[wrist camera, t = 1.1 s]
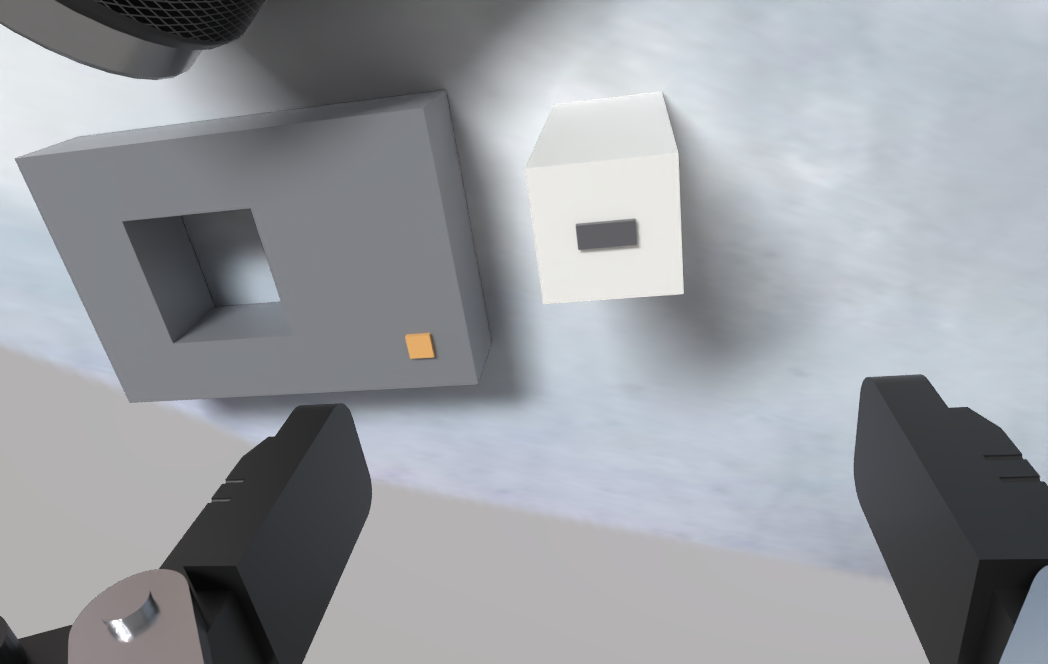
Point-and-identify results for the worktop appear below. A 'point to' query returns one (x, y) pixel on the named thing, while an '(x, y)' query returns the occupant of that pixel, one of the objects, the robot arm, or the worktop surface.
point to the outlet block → (275, 250)
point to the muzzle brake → (130, 31)
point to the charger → (606, 200)
